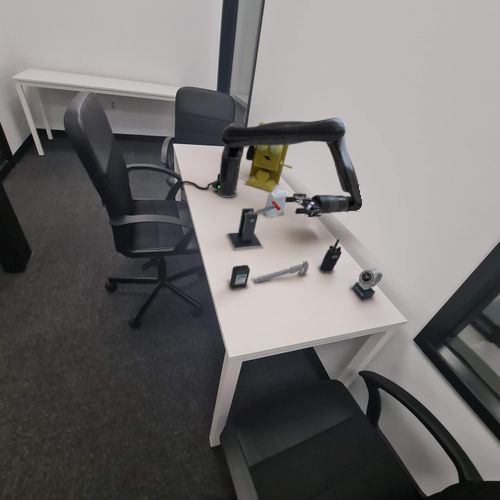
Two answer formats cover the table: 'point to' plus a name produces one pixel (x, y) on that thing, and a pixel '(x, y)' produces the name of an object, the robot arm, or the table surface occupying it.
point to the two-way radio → (331, 258)
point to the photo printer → (279, 198)
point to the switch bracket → (245, 231)
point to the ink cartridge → (239, 276)
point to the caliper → (285, 272)
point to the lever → (265, 209)
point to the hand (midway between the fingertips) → (290, 205)
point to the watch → (367, 283)
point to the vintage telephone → (266, 165)
